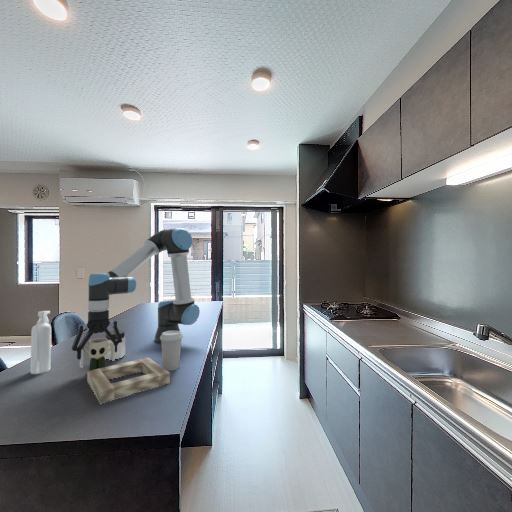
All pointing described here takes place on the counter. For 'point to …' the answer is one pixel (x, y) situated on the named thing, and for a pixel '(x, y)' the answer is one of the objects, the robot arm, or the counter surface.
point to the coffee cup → (171, 349)
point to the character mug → (97, 352)
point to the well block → (109, 391)
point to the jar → (120, 346)
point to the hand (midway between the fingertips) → (97, 363)
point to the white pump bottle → (41, 344)
